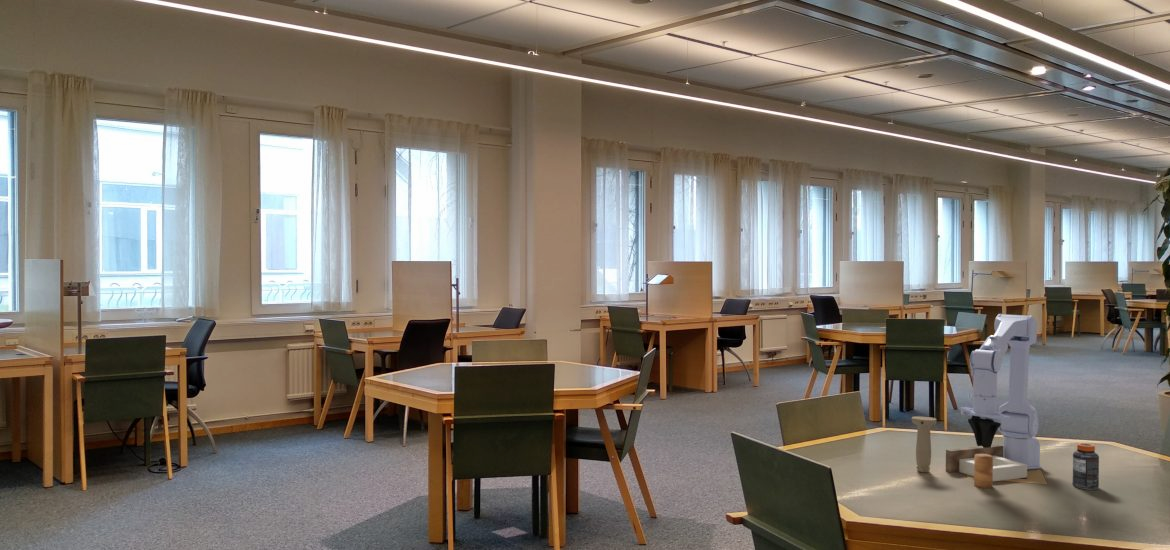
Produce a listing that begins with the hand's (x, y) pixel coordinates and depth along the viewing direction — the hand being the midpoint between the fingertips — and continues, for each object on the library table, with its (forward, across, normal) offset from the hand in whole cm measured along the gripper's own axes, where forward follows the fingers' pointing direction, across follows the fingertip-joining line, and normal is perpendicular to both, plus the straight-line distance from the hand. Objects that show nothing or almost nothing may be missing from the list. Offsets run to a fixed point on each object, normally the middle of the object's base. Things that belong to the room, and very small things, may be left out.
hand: (983, 446), depth 225 cm
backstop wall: (+10, -14, +12) cm, 21 cm away
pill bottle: (+11, +10, +24) cm, 29 cm away
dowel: (+10, 0, 0) cm, 10 cm away
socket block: (+10, -8, +11) cm, 17 cm away
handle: (+11, -17, -4) cm, 21 cm away
